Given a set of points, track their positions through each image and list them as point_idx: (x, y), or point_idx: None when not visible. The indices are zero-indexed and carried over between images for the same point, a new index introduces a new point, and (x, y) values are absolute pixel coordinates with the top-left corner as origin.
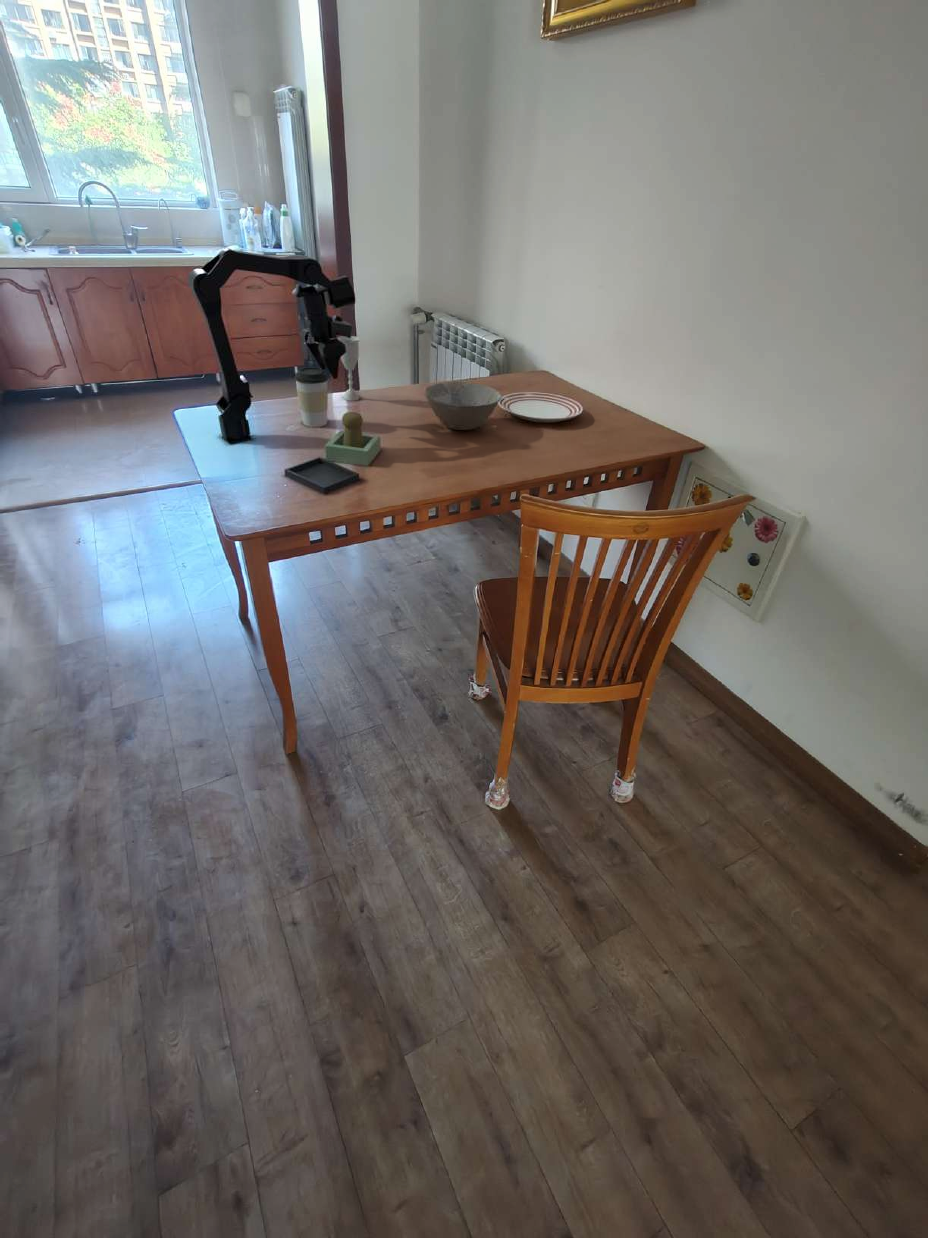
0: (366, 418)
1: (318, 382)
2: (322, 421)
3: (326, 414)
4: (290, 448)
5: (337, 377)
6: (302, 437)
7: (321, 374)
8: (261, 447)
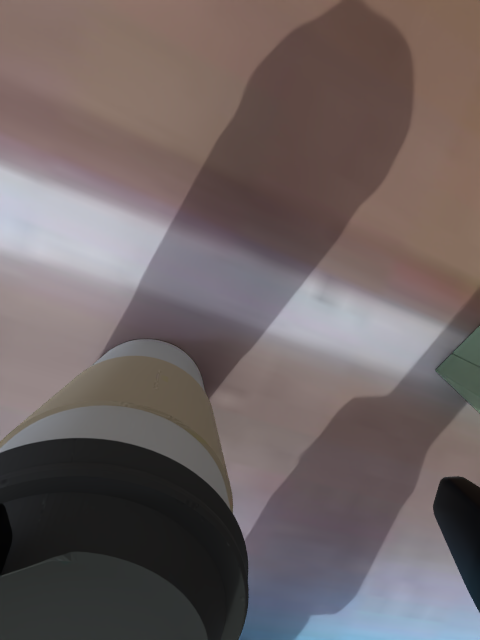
0: (165, 111)
1: (245, 561)
2: (202, 382)
3: (180, 363)
4: (380, 544)
5: (467, 480)
6: (297, 484)
7: (187, 571)
8: (329, 622)
